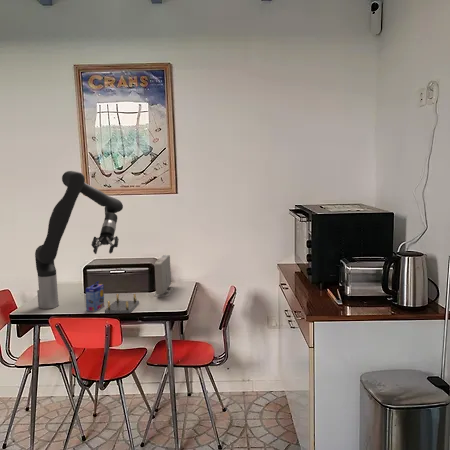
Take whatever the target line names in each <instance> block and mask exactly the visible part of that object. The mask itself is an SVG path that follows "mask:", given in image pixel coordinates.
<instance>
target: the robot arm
mask: <svg viewBox="0 0 450 450" xmlns="http://www.w3.org/2000/svg"><path fill="white" fill-rule="evenodd" d="M61 181H62V184H63V185H64V186H65V187H66V191H65V193H64V195H63V196H62V197H61V199H60V200H59V201H58V202H57V203H56V204H55V206H54V207H53V210H52V212H51V215H50V217H49V221H48V228H47V234H46V238H45V240H44V241H43V244H41V245H38V247H37V248H36V249H35V253H34V258H35V268H36V272H37V281H38V289H37V291H36V292H37V304H38V305H37V306H38V309H42V310H43V309H44V310H48V309H54V308H57V307H59V304H60V303H59V292H58V278H57V269H56V266H55V259H56V257H57V255H58V250H59V247H60V243H61V240H62V238H63V235H64V233H65V231H66V228H67V226H68V223H69V221H70V218H71V215H72V212H73V209H74V207H75V204H76V201H77V199H78V197H79V195H80V194H82V195H83V196H85V197H87V198H88V199H90V200H92V201H94V203H95V204H98V205H99V206H100V207H104V220H103V223H102V225H101V230H100V234H99V237H96V236H93V238H92V241H91V244H90V245H91V246H92V248H93V253H94V254H95V255H97V253H98V249H99V248H100V247H102V246H105V245H106V246H108V245H109V249H108V250H109V251H108V253H109V254H112V253H114V249H115V248H118V245H119V237H118V235H115V232H116V229H117V222H118V215H117V214H118V213H119V212H121V211H122V210H123V208H124V206H123V202H121V200H120V199H117V198H115V197H113V196H109V195H107V194H106V193H104V192H103V191H102V190H100V189H98V188H96V187H94V186H92V185H90V184H88V183H86V181H85V175H84V174H83V173H82V172H79V171H77V170H76V171H74V170H67V171H65V172H64V173H63V174H62V176H61ZM114 236H115V237H114ZM113 241H114V243H113Z"/></svg>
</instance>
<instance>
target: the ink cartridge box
mask: <svg viewBox="0 0 450 450" xmlns="http://www.w3.org/2000/svg"><path fill="white" fill-rule="evenodd" d="M99 282H100V281H99V280H98V281H96V282H95V283H93V284H92V285H90V286H87V287H86V288H85V303H86V304H85V307H86V309H85V310H86V311H87V312H93V313H95V312H97V311H99V310H101V309H102V308H104V307H105V294H104V292H105V291H104V290H105V289H104V288H105V287H104V284H103V283H99Z"/></svg>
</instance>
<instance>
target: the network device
mask: <svg viewBox="0 0 450 450" xmlns="http://www.w3.org/2000/svg"><path fill="white" fill-rule="evenodd" d="M171 273H172V272H171V255H169V254H168V255H166V254H165V255H164V254H163V255H162V256H161V257H160V258H158V260H156V261H155V262H154V280H155V292H154V293H153V297H158V298H159V297H161V298H163V297H169V296H170V294H171V293H172V291H173V290H174V287H172V286H171V284H172V276H171Z"/></svg>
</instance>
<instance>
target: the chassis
mask: <svg viewBox="0 0 450 450" xmlns="http://www.w3.org/2000/svg"><path fill="white" fill-rule="evenodd" d="M115 296H116V297H115V298H116V300H114V301H113V302H112V303H111V301H110V300H109V301H107V308H106V309H104V314H131V313H132V312H133V311H132V310H135V309H136V308H137V306H139V304H140V301H139V300H137V294H136V293H133V300H120V297H119V296H120V295H119V293H117V294H116V295H115Z"/></svg>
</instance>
